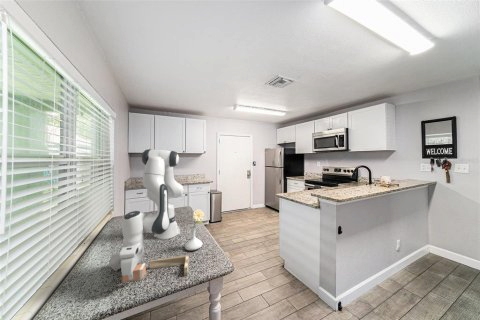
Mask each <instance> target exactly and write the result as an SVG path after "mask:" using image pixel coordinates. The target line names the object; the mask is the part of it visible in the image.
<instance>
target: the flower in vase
mask: <svg viewBox="0 0 480 320" xmlns="http://www.w3.org/2000/svg"><path fill="white" fill-rule="evenodd" d="M192 218H193V219H194V221H195V222H194V223H192V222H189V224H190V226H188V227H189V228H188V229H190V233H191V238H190V239H189V240H188V241H186V243H185V245H184V249H185V250H187V251H196V250H198V249H200V248H201V247H202V246H203V242H202V240H200V239H199V238H197V237H196V229H197V227H198V225H200V224H202V223H203V220H204V219H205V213H204V212H203V210H202V209H195V211H193V213H192ZM196 224H198V225H196Z"/></svg>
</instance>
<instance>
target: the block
mask: <svg viewBox="0 0 480 320" xmlns="http://www.w3.org/2000/svg"><path fill="white" fill-rule="evenodd" d="M146 267H147V266H146V263H140V264H138V265H136V267H135V269H134V270H133V274H134V277H133V279H132V280H129V277H128V275H126V276H123V275H122V274H121V281H122V282H121V283H128V282H133V281H140V280H144V279H145V276H146V273H147V270H146V269H147V268H146Z"/></svg>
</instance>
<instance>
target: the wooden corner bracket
mask: <svg viewBox="0 0 480 320" xmlns="http://www.w3.org/2000/svg"><path fill="white" fill-rule="evenodd" d="M189 263H190V256H189V254H185V255H178V256H171V257H164V258H158V259H150V260H149V270H153V269H154V270H155V269H161V268H168V267H173V266H179V265H184V266H183V270H184V273H183V274H184V277H187V276H188V277H189V275H188V274H189V266H190V264H189Z"/></svg>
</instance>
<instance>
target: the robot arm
mask: <svg viewBox="0 0 480 320" xmlns="http://www.w3.org/2000/svg"><path fill="white" fill-rule="evenodd" d="M179 161H180V156H179V153H178V152H177V151H175V150H167V149H151V148H149V149H145V150H144V151H142V154H141V162H142V163H143V164H144V165H145V166H144V170H143V174H142V180H141V181H142V185H143V187H144V188H145V189H146V196H147V198H148V199H149V200H151V201H152V202H153V203H154V204H155V205H156V207H157V213H150V212H149V213H147V212H146V213H145V212H141V211H139V210H133V211H130V212H128V213H126V214H125V215H124V216H123V218H122V222H121V223H122V225H121V229H122V230H121V231H122V236H123V237H122V247H121V250H120V251H121V252H120V251H119V252H120V255H119V257H120V258H122V259H121V269H120V270H121V271H120V272H121V276H122V275H123V276H126V275H128V277H129V280H132V279H133V277H134V274H133V270H134V269H135V267H136V265H138V264H141V261H142V260H141V259H142V256H143V254H144V252H145V249H144V247H145V245H144V244H145V243H144V233H150V234H154V235H153V237H154V238H157V239H159V240H168V239H171V238H174V237H177V236H178V235H180V234H181V229H180V226H179V225H178V223H177V221H176V215H175V206H174V204H173V203H170V202H169V199H176V198H180V197H182V196H183V194H184V191H185V190H184V186H183V185H182V184H181V183H179V182H178V181H177V180H176V179H175V176H174V167H176V166H177V165H178V164H179Z"/></svg>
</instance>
